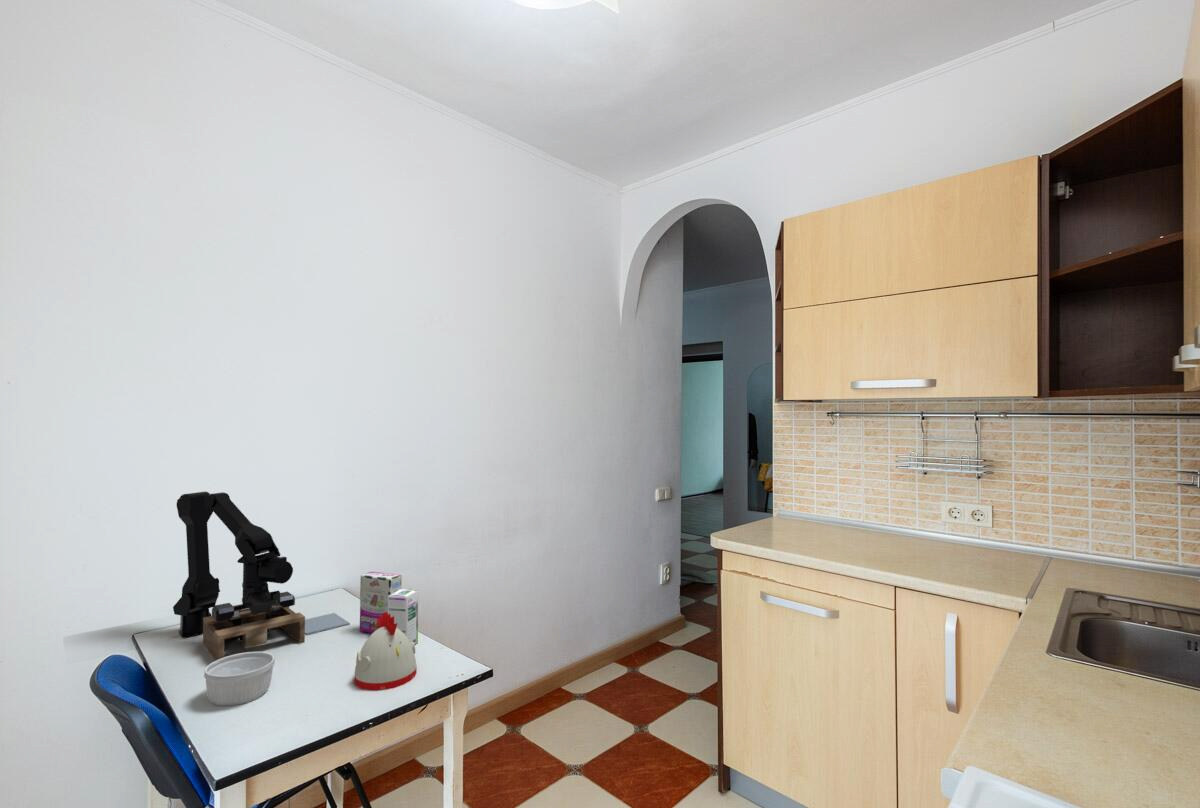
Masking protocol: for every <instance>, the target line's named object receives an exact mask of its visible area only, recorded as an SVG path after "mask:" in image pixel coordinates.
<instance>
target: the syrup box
mask: <svg viewBox="0 0 1200 808" xmlns="http://www.w3.org/2000/svg"><path fill="white" fill-rule="evenodd" d="M418 593H419V592H418V590H417V589H411V588H410V589H409V588H407V589H406V588H403V589H402V588H401V589H399V590H398V591H397V592H395V593H393V594H391V595H389V596H388V614H390V616H391V617H393V616H394V624H395V623H397V627H396V628H398V629H399V630H401V631H402V632H403V633H404V634H405V635H406V637H407V638H408V640H409V641H410V642H412V641H413V642H414V645H417V644H418V643H419V607H418V605H419V598H418V596H419V594H418Z"/></svg>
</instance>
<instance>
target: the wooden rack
mask: <svg viewBox="0 0 1200 808" xmlns="http://www.w3.org/2000/svg"><path fill="white" fill-rule="evenodd" d="M239 615H240V616H241V617H242V621H241V624H242V625H240V626H236V627H234V625H233V623H232V622H229V621H228V620H222V621H216V620H215V619H214V618H213V617H212V615H211V616H209V617H204V618H203V634H202V645H203V646H204V647H205V649H206V650H207V651H208V653H209V654H210V655H211V657H212V658H213V659H214V661H216V660H219V659H221V658H224V657H225V641H227V640H231V639H236V638H239V637H238V636H239V635H243V634H247V633H252V632H256V631H260V630H265V629H269V628H270V630H274V629H279V628H281V629H282V630H284V632H286V633H287V634H288V635H289V636H290V637H292V638H293V639H294V640H295V641H296V642H297V643H298V644H303V643H305V636H306V635H305V619H306V616H305V615H303V613H301V612H295V611H294V610H293V609H291V608H290V606H289V607H284V609H283V610H282V611H280V612H279V613H278V614H277V615H276V617H275V618H272V619H268V620H266V612H264V613H259V614H258V615H252V614H251V611H250V610H247V611H242V612H240V614H239ZM261 620H262V621H261ZM257 621H259V622H257ZM252 622H254V623H252ZM248 623H249V624H248ZM243 624H245V625H243Z"/></svg>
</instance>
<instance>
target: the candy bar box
mask: <svg viewBox="0 0 1200 808" xmlns="http://www.w3.org/2000/svg"><path fill="white" fill-rule="evenodd" d="M399 589H402V575H401V574H396V573H388V572H378V571H369V572H367V573H364V574H361V575H360V592H359V593H360V594H359V595H360V597H359V600H360V601H359V603H360V605H359V633H363V634H368V635H371V634H372V633H374V632H375V631H376V630H377V629H379V628H378V623H377V619H380V616H382V615H383V613H385V612H387V614H388V596H389V595H391V594H393V593H395V592H397V591H398V590H399Z"/></svg>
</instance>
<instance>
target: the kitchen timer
mask: <svg viewBox="0 0 1200 808" xmlns="http://www.w3.org/2000/svg"><path fill="white" fill-rule="evenodd" d="M377 623H378V628H379V629H377V630H376V631H375V632H374V633H372V634H370V635H369V637H368V638H367V639H366V641H365V642H364V643H363V645H362V647H361V650H360V651H357V653H356V659H355V660H356V661H355V663H356V664H355V666H354V667H355V668H354V679H353V680H354V684H355V686H356V687H358V688H360V689H362V690H367V691H383V690H384V691H385V690H389V689H395V688H398V687H401V686H403V685H406V684H407V683H409V682H411V681H412V680H413V679H414V678H415V677H416V675H417V670H418V669H417V668H418V667H417V660H416V656H415V654H416V647H415V645H416V644H415V645H414V642H413V641H412V642H410V641H409V640H408V638H407V637H406V635H405V634H404V633H403V632H402V631H401V630H399V629H398V628H396V627H397V623H395V624H394V616H393V617H391V616H390V614H387V612H385V613H383V615H382V616H380V619H377Z"/></svg>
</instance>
